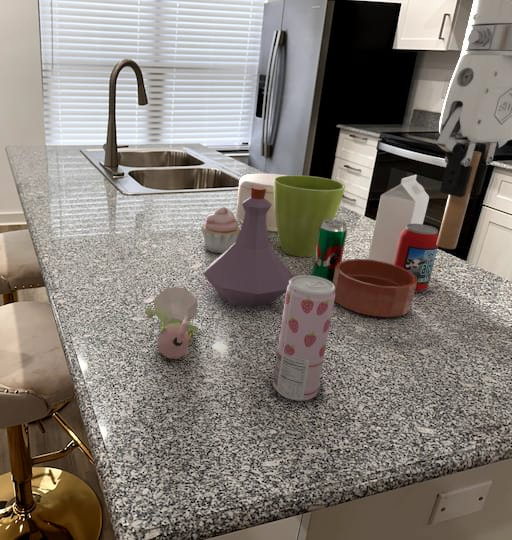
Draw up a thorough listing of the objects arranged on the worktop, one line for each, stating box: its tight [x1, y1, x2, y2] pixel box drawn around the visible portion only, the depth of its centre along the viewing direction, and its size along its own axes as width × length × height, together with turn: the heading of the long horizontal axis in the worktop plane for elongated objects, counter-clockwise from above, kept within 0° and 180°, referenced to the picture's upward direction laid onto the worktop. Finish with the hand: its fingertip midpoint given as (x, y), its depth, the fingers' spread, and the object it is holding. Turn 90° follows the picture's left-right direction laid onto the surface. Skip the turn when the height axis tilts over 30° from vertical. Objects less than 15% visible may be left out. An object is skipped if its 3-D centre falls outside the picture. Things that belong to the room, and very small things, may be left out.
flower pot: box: [274, 174, 346, 258], centre depth 114 cm, size 15×15×16 cm
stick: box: [436, 151, 481, 250], centre depth 69 cm, size 2×2×13 cm
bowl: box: [333, 258, 417, 318], centre depth 91 cm, size 13×13×6 cm
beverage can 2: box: [393, 223, 439, 293], centre depth 98 cm, size 7×7×12 cm
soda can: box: [311, 219, 348, 283], centre depth 99 cm, size 5×5×12 cm
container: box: [235, 173, 288, 232], centre depth 135 cm, size 18×18×12 cm
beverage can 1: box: [272, 274, 335, 402], centre depth 64 cm, size 6×6×15 cm
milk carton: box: [367, 174, 430, 264], centre depth 108 cm, size 7×7×19 cm
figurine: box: [144, 287, 199, 360], centre depth 76 cm, size 9×7×15 cm
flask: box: [202, 186, 296, 309], centre depth 89 cm, size 16×16×20 cm
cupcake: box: [200, 206, 241, 254], centre depth 114 cm, size 9×9×10 cm
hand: (459, 192), depth 68 cm, fingers closed on stick, 2 cm apart
